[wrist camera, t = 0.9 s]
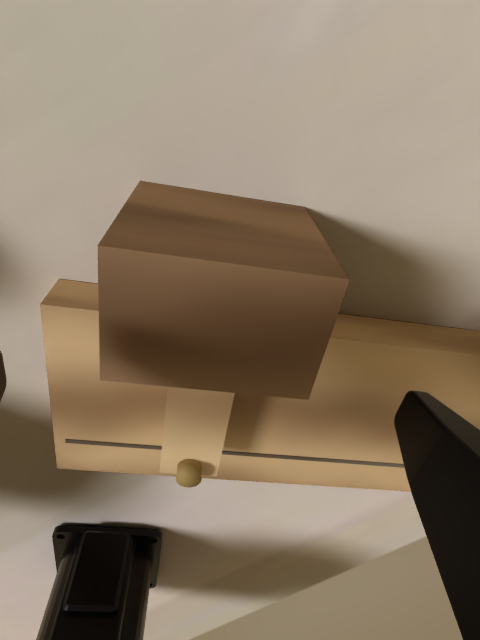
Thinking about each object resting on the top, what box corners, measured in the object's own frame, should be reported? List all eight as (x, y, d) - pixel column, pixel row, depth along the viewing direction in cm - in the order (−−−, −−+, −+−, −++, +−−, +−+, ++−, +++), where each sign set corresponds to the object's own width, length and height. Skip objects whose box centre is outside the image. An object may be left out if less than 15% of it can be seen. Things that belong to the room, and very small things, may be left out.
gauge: (251, 414, 21) (263, 529, 15) (131, 403, 20) (101, 521, 15) (304, 207, 15) (350, 280, 10) (140, 180, 14) (97, 245, 9)
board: (462, 465, 24) (481, 497, 22) (70, 435, 21) (56, 469, 19) (549, 339, 19) (583, 367, 17) (58, 279, 16) (39, 305, 14)
